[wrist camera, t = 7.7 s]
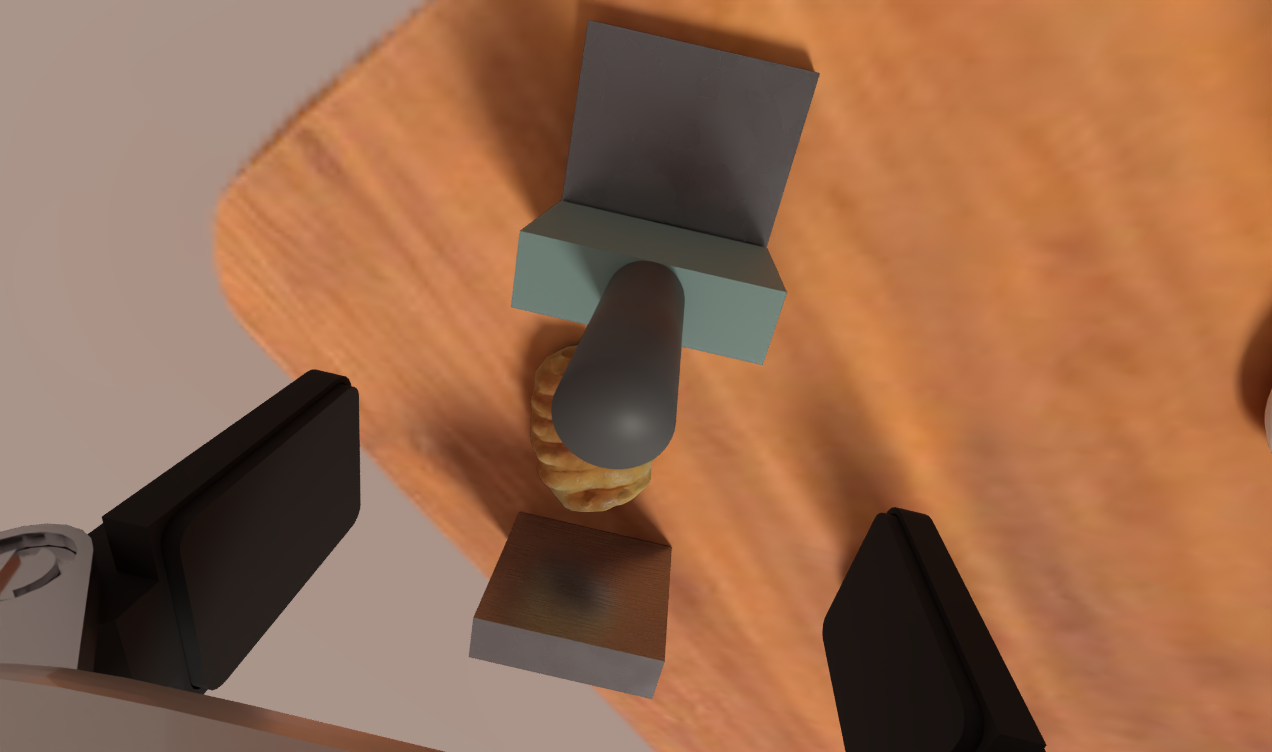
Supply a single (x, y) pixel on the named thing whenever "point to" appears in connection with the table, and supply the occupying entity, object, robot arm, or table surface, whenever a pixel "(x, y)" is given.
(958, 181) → the table surface
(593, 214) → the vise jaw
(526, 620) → the block
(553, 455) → the pastry
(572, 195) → the dark grey flat plate
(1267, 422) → the flower in vase
